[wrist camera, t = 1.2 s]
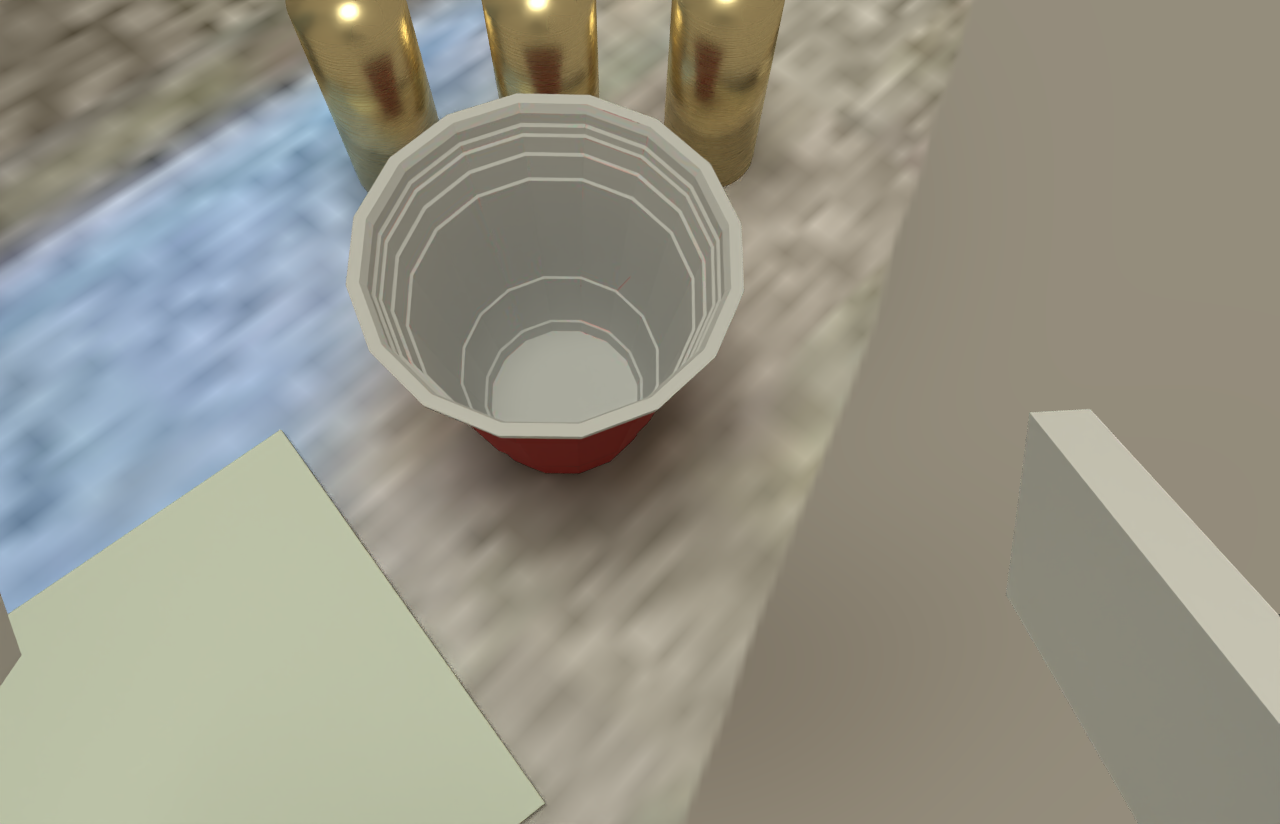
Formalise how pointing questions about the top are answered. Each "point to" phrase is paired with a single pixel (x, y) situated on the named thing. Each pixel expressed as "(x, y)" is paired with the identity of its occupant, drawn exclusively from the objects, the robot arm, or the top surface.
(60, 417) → the top surface
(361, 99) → the spacer posts
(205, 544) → the mat
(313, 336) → the top surface
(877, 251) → the top surface
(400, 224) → the plastic cup
